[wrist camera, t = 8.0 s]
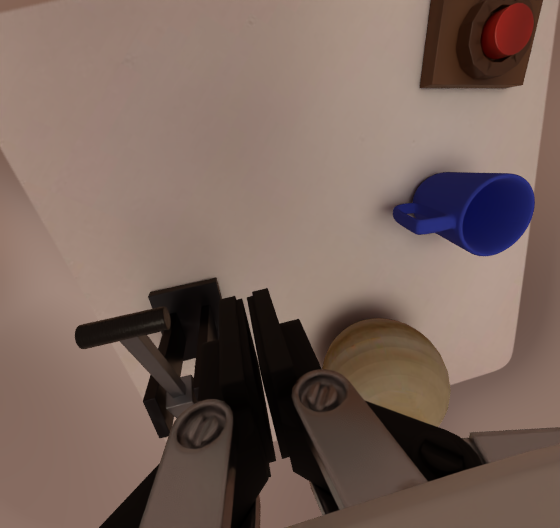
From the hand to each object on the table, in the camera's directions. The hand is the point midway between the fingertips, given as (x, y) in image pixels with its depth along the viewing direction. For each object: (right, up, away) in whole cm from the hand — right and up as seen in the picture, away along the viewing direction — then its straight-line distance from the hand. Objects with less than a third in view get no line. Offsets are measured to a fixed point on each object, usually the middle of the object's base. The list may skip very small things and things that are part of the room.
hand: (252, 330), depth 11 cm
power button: (+22, +25, +19) cm, 38 cm away
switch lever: (-8, -5, +13) cm, 16 cm away
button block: (+22, +26, +23) cm, 41 cm away
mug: (+19, +10, +28) cm, 35 cm away
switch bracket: (-10, -5, +29) cm, 31 cm away
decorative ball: (+12, -9, +35) cm, 38 cm away
